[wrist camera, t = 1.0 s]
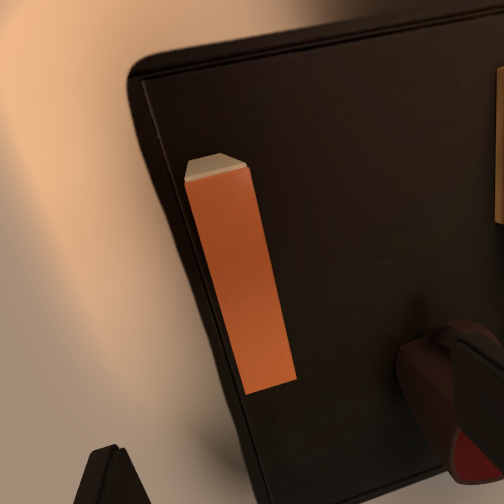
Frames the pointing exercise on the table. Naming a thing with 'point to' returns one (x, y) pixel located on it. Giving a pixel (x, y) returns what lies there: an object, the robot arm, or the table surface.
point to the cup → (442, 402)
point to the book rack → (499, 149)
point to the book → (240, 268)
